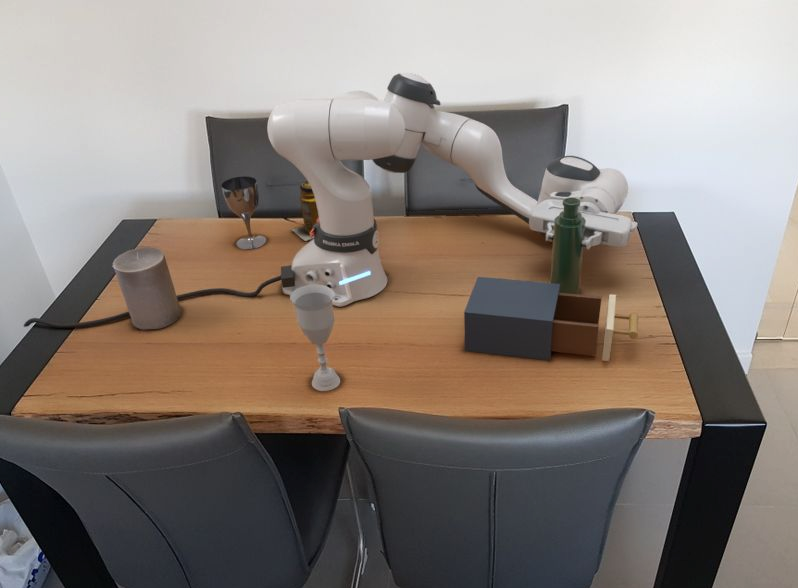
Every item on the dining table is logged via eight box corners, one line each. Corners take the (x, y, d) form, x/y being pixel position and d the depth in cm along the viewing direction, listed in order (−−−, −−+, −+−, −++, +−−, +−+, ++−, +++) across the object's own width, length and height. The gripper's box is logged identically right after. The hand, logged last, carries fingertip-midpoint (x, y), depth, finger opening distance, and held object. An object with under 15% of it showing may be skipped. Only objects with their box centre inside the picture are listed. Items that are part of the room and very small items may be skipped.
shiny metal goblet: (264, 249, 168) (252, 189, 159) (231, 250, 168) (217, 191, 159) (270, 233, 174) (259, 175, 165) (238, 235, 174) (225, 177, 165)
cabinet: (557, 322, 138) (560, 283, 132) (549, 360, 128) (552, 321, 123) (477, 313, 141) (477, 276, 136) (464, 350, 131) (464, 312, 126)
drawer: (635, 327, 133) (640, 296, 129) (634, 364, 124) (639, 332, 120) (534, 317, 138) (536, 287, 134) (526, 352, 129) (528, 320, 125)
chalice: (298, 389, 125) (281, 302, 114) (316, 366, 130) (302, 281, 119) (335, 397, 122) (322, 310, 112) (352, 374, 127) (341, 288, 117)
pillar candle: (166, 299, 151) (147, 236, 143) (190, 316, 146) (171, 251, 137) (123, 318, 146) (101, 254, 137) (146, 336, 140) (124, 270, 132)
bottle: (547, 297, 144) (554, 206, 132) (551, 282, 149) (557, 193, 137) (577, 300, 143) (586, 208, 131) (579, 285, 147) (588, 195, 135)
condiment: (336, 231, 173) (330, 185, 166) (305, 241, 170) (297, 194, 163) (322, 221, 178) (316, 175, 171) (292, 230, 175) (284, 184, 168)
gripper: (638, 236, 145) (617, 267, 135) (543, 217, 154) (517, 246, 144) (642, 207, 141) (621, 237, 132) (545, 190, 150) (519, 217, 140)
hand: (566, 241), depth 138 cm, fingers closed on bottle, 6 cm apart
